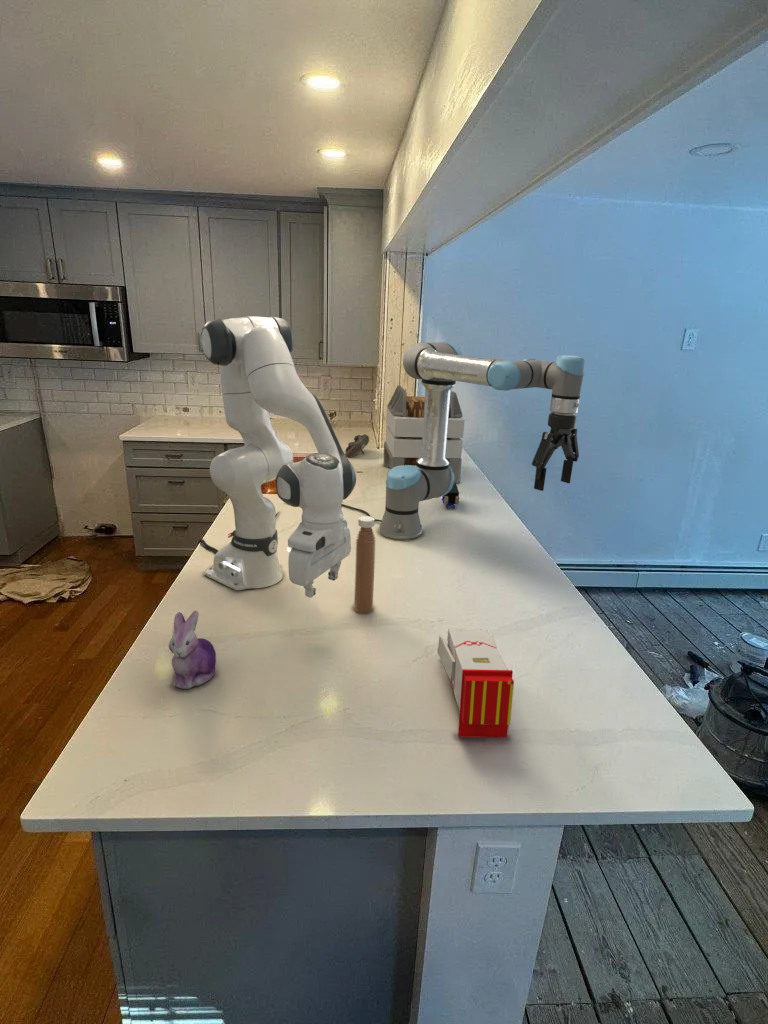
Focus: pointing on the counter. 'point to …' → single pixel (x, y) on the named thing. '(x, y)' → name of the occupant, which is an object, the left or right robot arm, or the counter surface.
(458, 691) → the toy
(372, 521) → the cap
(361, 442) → the fossil
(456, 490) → the figurine character
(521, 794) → the counter surface
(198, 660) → the figurine
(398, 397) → the grey slatted box
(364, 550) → the bottle
